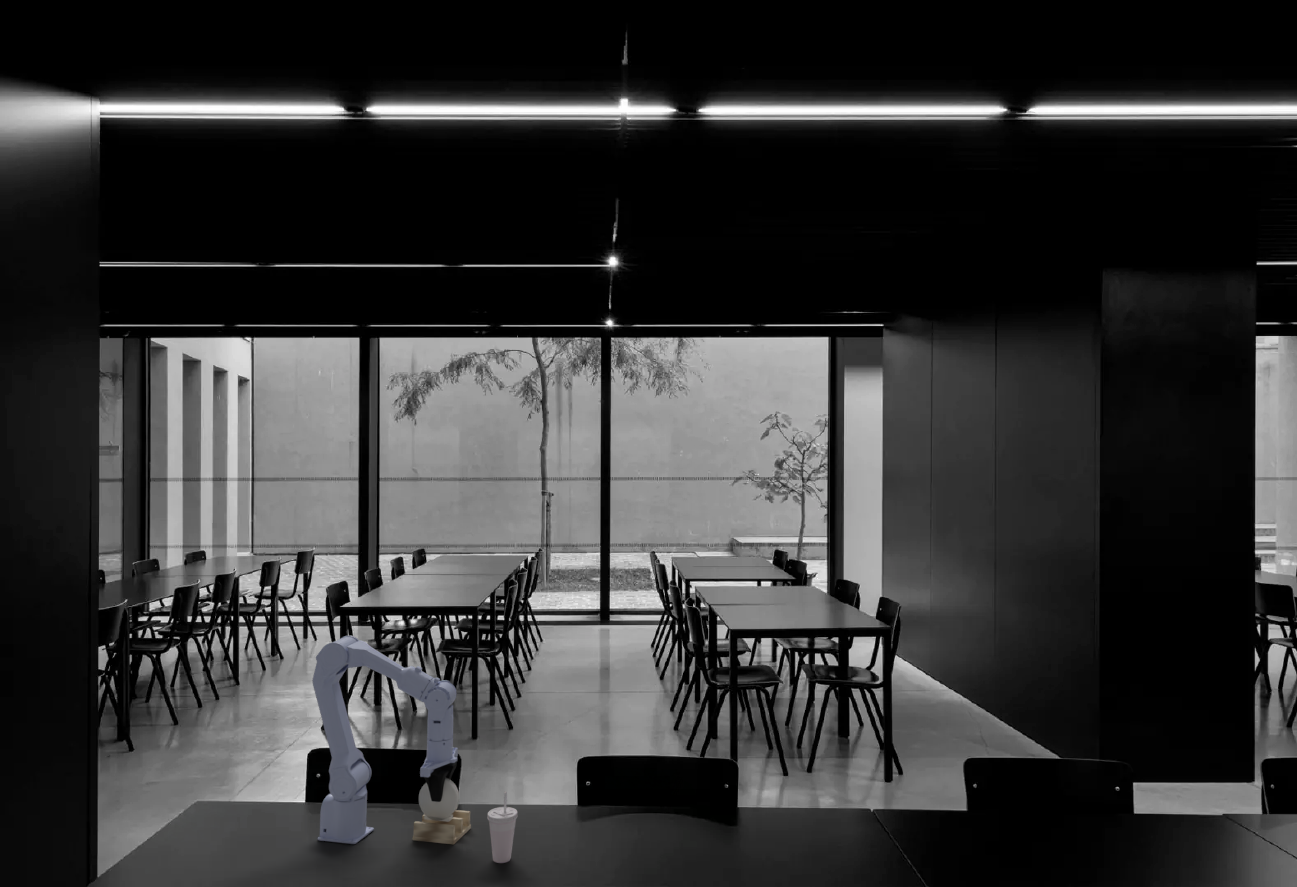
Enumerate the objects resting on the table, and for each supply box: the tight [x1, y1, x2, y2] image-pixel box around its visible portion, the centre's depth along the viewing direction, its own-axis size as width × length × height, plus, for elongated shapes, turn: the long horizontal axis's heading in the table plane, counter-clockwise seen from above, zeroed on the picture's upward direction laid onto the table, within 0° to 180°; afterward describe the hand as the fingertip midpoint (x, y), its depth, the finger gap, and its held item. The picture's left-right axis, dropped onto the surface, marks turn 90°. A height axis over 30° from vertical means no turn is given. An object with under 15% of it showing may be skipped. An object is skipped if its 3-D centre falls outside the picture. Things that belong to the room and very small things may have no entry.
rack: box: [412, 809, 472, 845], centre depth 184 cm, size 10×9×4 cm
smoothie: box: [486, 791, 518, 864], centre depth 172 cm, size 6×6×14 cm
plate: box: [418, 778, 460, 822], centre depth 183 cm, size 9×2×9 cm, turn 78°
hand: (438, 799), depth 183 cm, fingers closed on plate, 2 cm apart
